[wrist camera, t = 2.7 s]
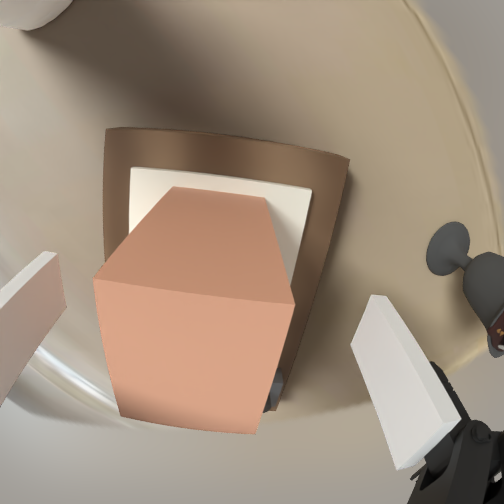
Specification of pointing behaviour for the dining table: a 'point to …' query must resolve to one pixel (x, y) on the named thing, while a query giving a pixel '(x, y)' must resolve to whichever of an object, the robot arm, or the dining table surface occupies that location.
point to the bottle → (30, 12)
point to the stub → (200, 297)
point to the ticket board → (243, 166)
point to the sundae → (473, 278)
